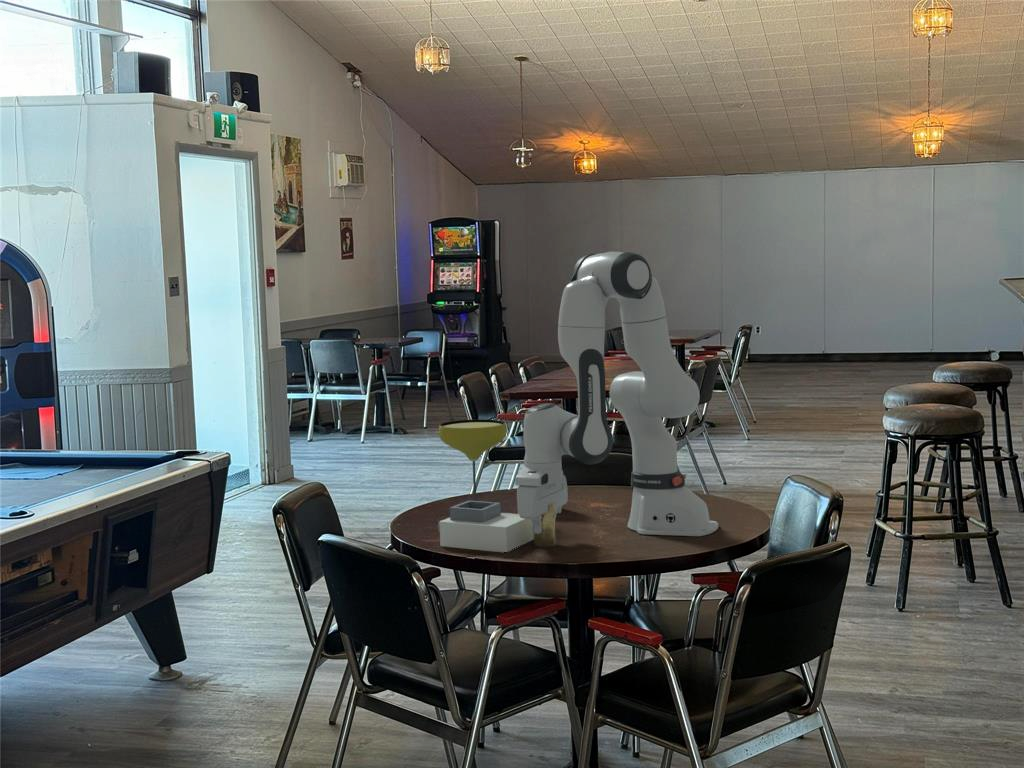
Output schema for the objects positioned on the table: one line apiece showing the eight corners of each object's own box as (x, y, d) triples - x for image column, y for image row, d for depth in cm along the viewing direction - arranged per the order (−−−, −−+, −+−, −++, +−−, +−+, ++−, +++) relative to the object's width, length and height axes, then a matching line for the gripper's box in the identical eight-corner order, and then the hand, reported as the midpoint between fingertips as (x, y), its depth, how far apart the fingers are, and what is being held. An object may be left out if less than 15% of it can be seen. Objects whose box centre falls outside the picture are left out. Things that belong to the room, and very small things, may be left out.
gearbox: (533, 539, 271) (532, 503, 270) (506, 552, 258) (505, 514, 258) (455, 532, 281) (454, 497, 280) (426, 544, 269) (424, 508, 268)
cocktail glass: (521, 516, 297) (518, 423, 294) (460, 526, 288) (457, 430, 285) (489, 505, 312) (486, 417, 310) (430, 514, 304) (427, 423, 301)
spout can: (558, 543, 266) (557, 489, 265) (549, 548, 262) (548, 493, 260) (540, 541, 268) (538, 488, 267) (530, 546, 264) (529, 492, 263)
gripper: (550, 464, 274) (551, 519, 275) (511, 479, 256) (513, 538, 257) (573, 466, 271) (574, 521, 272) (536, 480, 253) (537, 540, 254)
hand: (544, 529), depth 265 cm, fingers closed on spout can, 5 cm apart
